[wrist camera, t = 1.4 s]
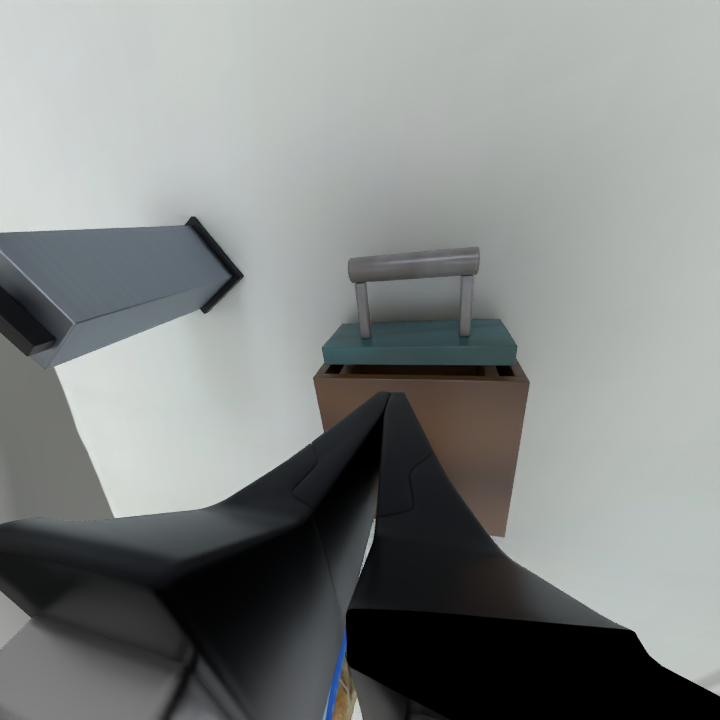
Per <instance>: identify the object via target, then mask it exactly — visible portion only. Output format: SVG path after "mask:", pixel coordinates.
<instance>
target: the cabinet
mask: <svg viewBox="0 0 720 720" xmlns="http://www.w3.org/2000/svg"><path fill="white" fill-rule="evenodd" d="M343 367H344V365H327V364H325V363H324V364H323V365H322V367H321V368H320V369H319V370H318V372H317V374H316V375H315V376H314V377H313V380H314V385H315V389H316V394H317V399H318V404H319V409H320V414H321V419H322V424H323V429H324V433H325V432H326V431H327V430H329V429H330V428H331V427H332V426H334V425H335V424H336V423H338V422H339V421H340V420H342V419H343V418H344V417H346V416H347V415H348V414H350V413H351V412H352V411H353V410H355V409H356V408H357V407H359V406H360V405H361V404H363V403H364V402H365V401H367V400H368V399H369V398H371V397H372V396H373V395H374V394H376V393H377V392H379V391H383V392H390V393H392V392H404V393H405V395H406V397H407V399H408V401H409V403H410V405H411V407H412V409H413V411H414V413H415V415H416V417H417V419H418V420H419V422H420V424H421V426H422V428H423V430H424V432H425V434H426V436H427V438H428V440H429V442H430V444H431V446H432V448H433V450H434V452H435V454H436V456H437V458H438V460H439V462H440V464H441V465H442V467H443V469H444V471H445V472H446V474H447V476H448V478H449V479H450V481H451V482H452V484H453V485H454V487H455V488H456V490H457V491H458V493H459V494H460V495H461V497H462V498H463V500H464V501H465V502H466V504H467V505H468V507H469V508H470V509H471V511H472V512H473V514H474V515H475V516H476V518H477V519H478V520H479V522H480V523H481V525H482V526H483V527H484V529H485V530H486V532H487V533H488V534H489V535H492V536H498V537H505V531H506V525H507V519H508V512H509V506H510V500H511V494H512V488H513V482H514V476H515V469H516V463H517V457H518V451H519V445H520V439H521V433H522V427H523V420H524V414H525V408H526V402H527V396H528V390H529V384H530V382H529V380H528V378H527V377H526V375H525V373H524V371H523V369H522V368H521V366H520V364H519V362H518V361H517V359H516V360H515V365H514V366H496V369H497V371H498V374H499V376H446V375H380V374H339V373H340V371H341V370H342V368H343ZM376 510H377V506H376ZM376 510H375V514H374V519H376Z"/></svg>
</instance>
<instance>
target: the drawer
mask: <svg viewBox="0 0 720 720" xmlns="http://www.w3.org/2000/svg"><path fill="white" fill-rule="evenodd" d="M479 261H480V252H479V247H469V248H458V249H447V250H436V251H425V252H414V253H403V254H392V255H381V256H370V257H359V258H350V259H349V262H348V274H349V278H350V281H351V282H352V283H355V289H356V298H357V307H358V315H359V323H347V324H342V325H341V326H340V327H339V328H338V330H337V331H336V332H335V333H334V334H333V335H332V337H331V338H330V339H329V340H328V341H327V342H326V344H325V345H324V346H323V347H322V351H323V357H324V362H325V364H327V365H344V367H343V368H342V370H341V371H340V373H339V374H380V375H446V376H499V374H498V371H497V369H496V366H514V365H515V360H516V352H517V345H516V343H515V342H514V340H513V338H512V337H511V335H510V334H509V332H508V330H507V329H506V327H505V326H504V324H503V323H502V321H501V319H475V320H471V311H472V293H473V275H476V274H477V273H478V270H479ZM447 276H461V288H460V314H459V320H443V321H411V322H379V323H370V314H369V304H368V294H367V284H366V282H374V281H389V280H403V279H418V278H433V277H447Z"/></svg>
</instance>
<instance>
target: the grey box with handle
mask: <svg viewBox="0 0 720 720" xmlns="http://www.w3.org/2000/svg"><path fill="white" fill-rule="evenodd" d="M243 277H244V276H243V275H242V274H241V272H240V271H239V270H238V269H237V268H236V266H235V265H234V264H233V263H232V261H231V260H230V259H229V258H228V257H227V255H226V254H225V253H224V252H223V250H222V249H221V248H220V247H219V246H218V244H217V243H216V242H215V241H214V239H213V238H212V237H211V236H210V235H209V233H208V232H207V231H206V230H205V228H204V227H203V226H202V225H201V224H200V222H199V221H198V220H197V219H196V217H191V218H190V219H189V220H188V222H187V223H186V224H185V226H162V227H136V228H110V229H85V230H59V231H34V232H8V233H0V333H2V334H3V335H4V336H5V337H6V338H7V339H8V340H9V341H11V342H12V343H13V344H14V345H15V346H16V347H17V348H18V349H19V350H20V351H21V352H23V353H24V354H25V355H26V356H30V357H31V358H32V359H33V360H34V361H35V362H37V363H38V364H39V365H40V366H41V367H42V368H43V369H49V368H52V367H54V366H57V365H59V364H62V363H64V362H67V361H69V360H72V359H74V358H77V357H79V356H82V355H84V354H87V353H90V352H92V351H95V350H97V349H100V348H102V347H105V346H107V345H110V344H112V343H115V342H117V341H120V340H122V339H125V338H128V337H130V336H133V335H135V334H138V333H140V332H143V331H145V330H148V329H150V328H153V327H155V326H158V325H160V324H163V323H165V322H168V321H171V320H173V319H176V318H178V317H181V316H183V315H186V314H188V313H191V312H193V311H196V310H198V309H201V311H202V312H203V313H204V314H205V313H208V312H209V311H210V310H211V309H212V308H213V307H214V306H215V305H216V304H217V303H218V302H219V301H220V300H221V299H222V298H223V297H224V296H225V295H226V294H227V293H228V292H229V291H230V290H231V289H232V288H233V287H234V286H235V285H236V284H237V283H238V282H239V281H240V280H241V279H242V278H243Z"/></svg>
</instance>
